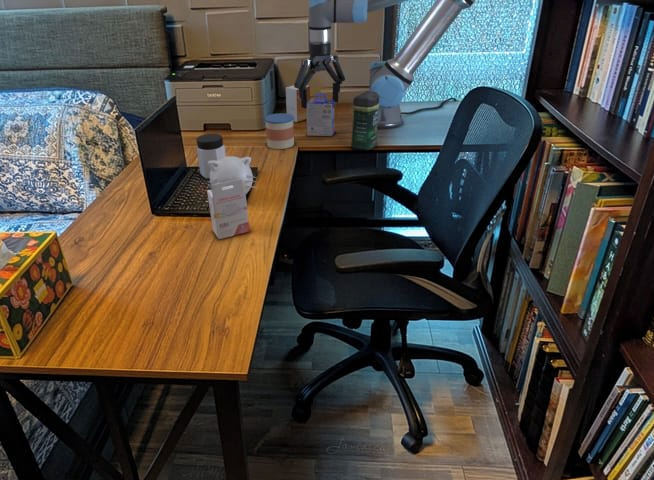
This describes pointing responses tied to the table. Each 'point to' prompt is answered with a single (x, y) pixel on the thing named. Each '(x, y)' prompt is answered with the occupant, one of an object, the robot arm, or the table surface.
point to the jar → (209, 151)
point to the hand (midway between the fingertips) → (319, 104)
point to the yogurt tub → (280, 130)
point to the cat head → (231, 171)
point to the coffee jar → (365, 120)
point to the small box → (296, 103)
